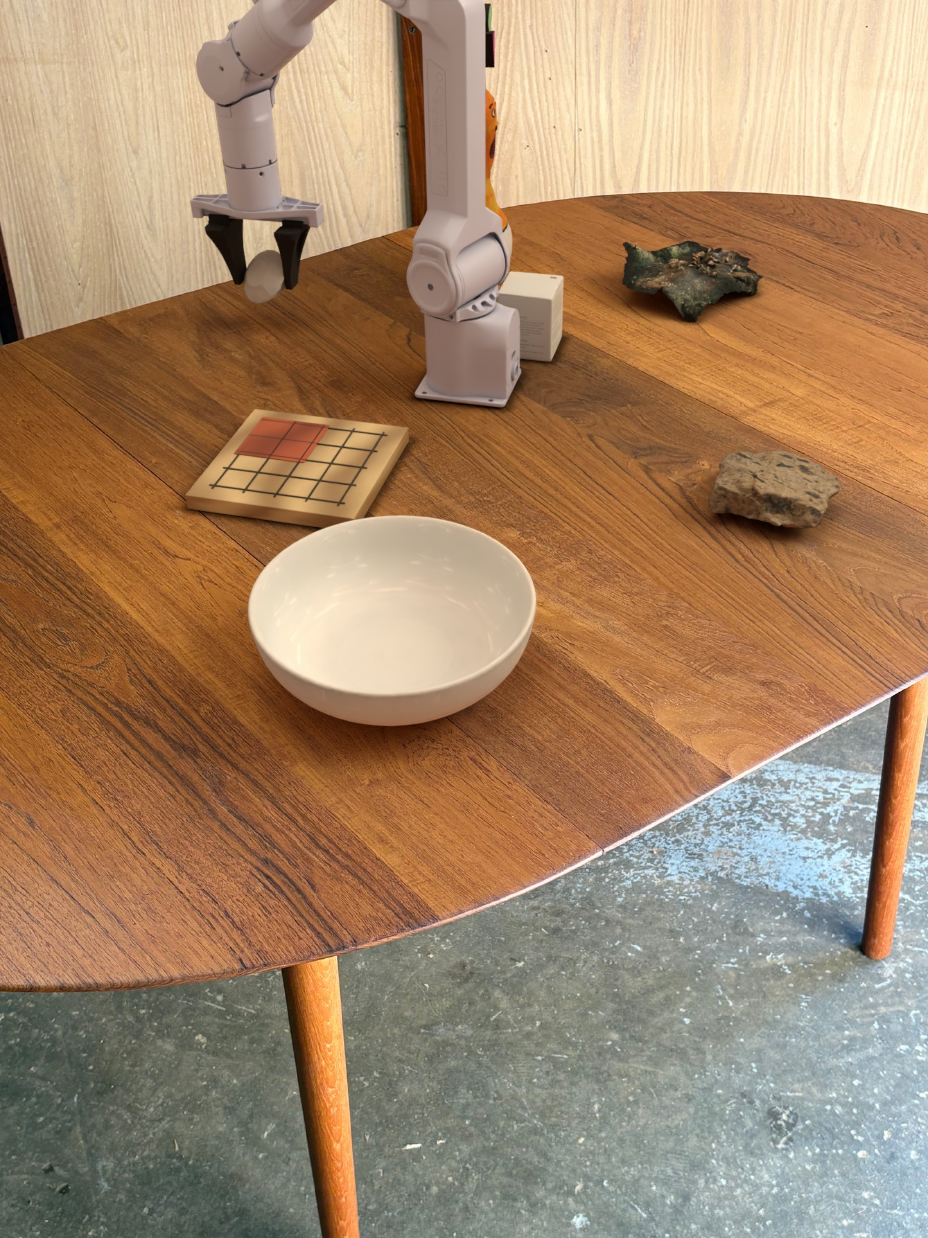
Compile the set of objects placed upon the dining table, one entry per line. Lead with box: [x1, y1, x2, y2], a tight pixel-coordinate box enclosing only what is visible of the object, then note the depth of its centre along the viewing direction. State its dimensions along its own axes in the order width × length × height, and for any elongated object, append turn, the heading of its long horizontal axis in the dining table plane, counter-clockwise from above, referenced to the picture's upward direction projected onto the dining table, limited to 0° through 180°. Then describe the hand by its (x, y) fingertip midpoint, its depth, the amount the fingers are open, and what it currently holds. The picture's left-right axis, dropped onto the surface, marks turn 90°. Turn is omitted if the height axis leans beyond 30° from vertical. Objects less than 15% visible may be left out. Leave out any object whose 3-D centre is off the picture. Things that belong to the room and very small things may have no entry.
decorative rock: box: [621, 240, 764, 322], centre depth 144 cm, size 19×6×15 cm
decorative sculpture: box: [484, 2, 513, 259], centre depth 138 cm, size 20×8×30 cm, turn 174°
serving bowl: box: [247, 515, 537, 727], centre depth 90 cm, size 21×21×7 cm
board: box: [184, 408, 410, 529], centre depth 114 cm, size 16×16×2 cm
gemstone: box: [243, 249, 287, 305], centre depth 136 cm, size 6×6×5 cm
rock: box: [707, 450, 843, 530], centre depth 107 cm, size 11×11×4 cm
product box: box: [496, 271, 565, 362], centre depth 131 cm, size 6×6×7 cm
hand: (266, 283), depth 136 cm, fingers closed on gemstone, 5 cm apart
